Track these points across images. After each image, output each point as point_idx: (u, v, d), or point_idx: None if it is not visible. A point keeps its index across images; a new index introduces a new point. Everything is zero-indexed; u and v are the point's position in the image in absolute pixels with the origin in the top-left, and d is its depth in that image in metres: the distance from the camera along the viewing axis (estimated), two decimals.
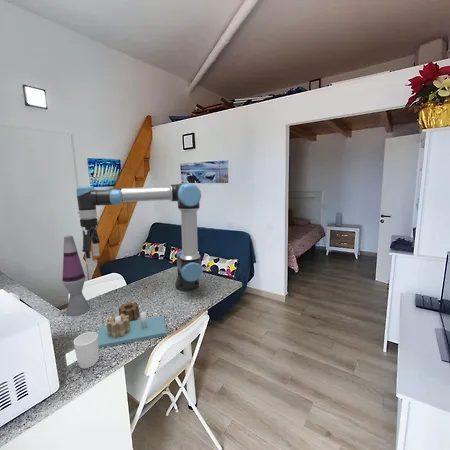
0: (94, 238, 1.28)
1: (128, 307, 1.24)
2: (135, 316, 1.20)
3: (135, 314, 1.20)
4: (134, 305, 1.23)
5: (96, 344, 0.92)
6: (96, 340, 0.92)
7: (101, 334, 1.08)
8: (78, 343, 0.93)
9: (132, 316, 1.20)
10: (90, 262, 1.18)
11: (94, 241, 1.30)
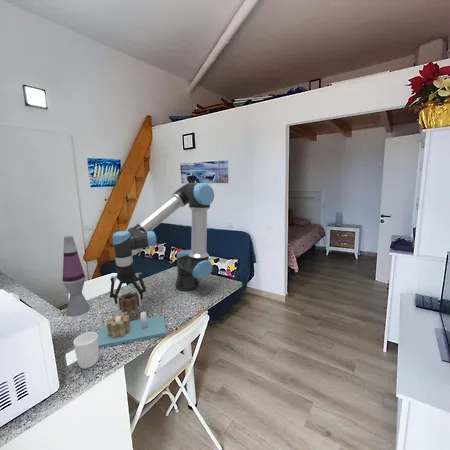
0: None
1: (128, 297, 1.23)
2: (135, 306, 1.19)
3: (135, 304, 1.19)
4: (134, 295, 1.22)
5: (96, 344, 0.92)
6: (96, 340, 0.92)
7: (101, 334, 1.08)
8: (78, 343, 0.93)
9: (132, 306, 1.19)
10: (118, 308, 1.20)
11: None
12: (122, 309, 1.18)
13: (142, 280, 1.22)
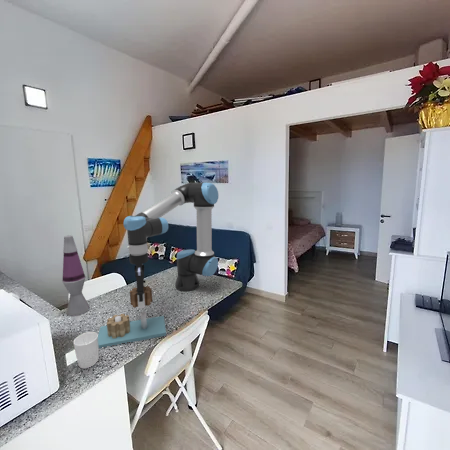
0: None
1: None
2: None
3: None
4: None
5: (96, 344, 0.92)
6: (96, 340, 0.92)
7: (101, 334, 1.08)
8: (78, 343, 0.93)
9: None
10: (142, 305, 1.05)
11: None
12: (149, 301, 1.07)
13: None
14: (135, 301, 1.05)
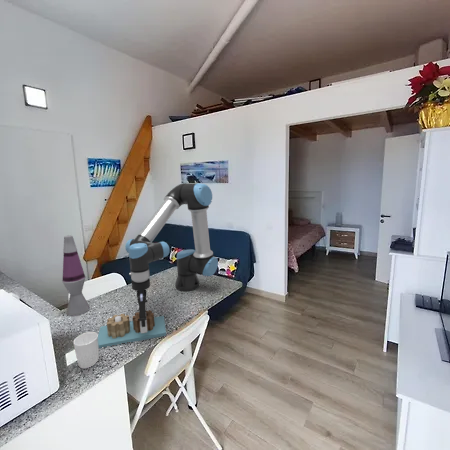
0: None
1: None
2: None
3: None
4: None
5: (96, 344, 0.92)
6: (96, 340, 0.92)
7: (101, 334, 1.08)
8: (78, 343, 0.93)
9: None
10: (145, 330, 1.06)
11: None
12: (151, 326, 1.10)
13: None
14: (138, 327, 1.08)
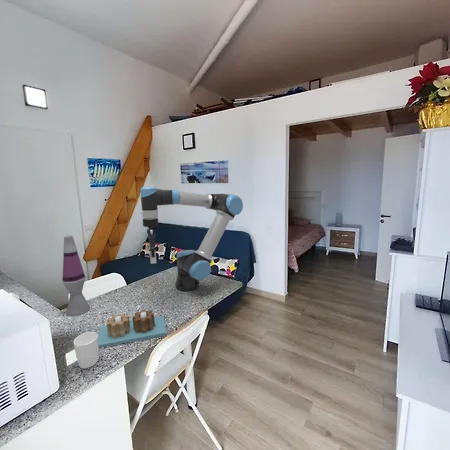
0: None
1: None
2: None
3: None
4: None
5: (96, 344, 0.92)
6: (96, 340, 0.92)
7: (101, 334, 1.08)
8: (78, 343, 0.93)
9: None
10: (154, 261, 1.21)
11: None
12: (151, 326, 1.10)
13: None
14: (138, 327, 1.08)
